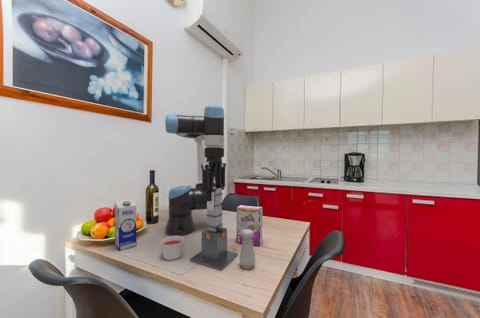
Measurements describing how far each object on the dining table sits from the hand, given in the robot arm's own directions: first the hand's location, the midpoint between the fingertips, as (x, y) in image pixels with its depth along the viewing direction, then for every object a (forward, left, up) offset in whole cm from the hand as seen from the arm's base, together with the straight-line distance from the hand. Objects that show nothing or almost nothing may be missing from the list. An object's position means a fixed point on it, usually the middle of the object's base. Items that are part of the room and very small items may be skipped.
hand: (214, 207), depth 78 cm
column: (0, 0, -14) cm, 14 cm away
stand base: (0, 0, -20) cm, 20 cm away
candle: (-16, -6, -20) cm, 26 cm away
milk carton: (-41, -9, -20) cm, 46 cm away
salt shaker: (+14, +1, -20) cm, 24 cm away
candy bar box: (+6, +19, -20) cm, 28 cm away
